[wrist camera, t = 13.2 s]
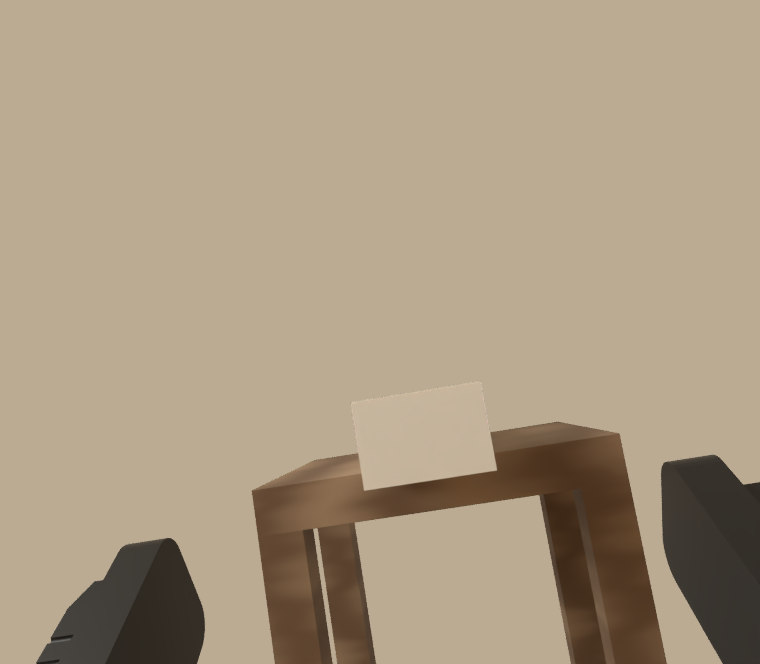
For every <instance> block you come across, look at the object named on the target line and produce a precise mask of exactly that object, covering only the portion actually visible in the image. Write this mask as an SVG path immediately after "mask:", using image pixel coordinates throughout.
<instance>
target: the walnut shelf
mask: <svg viewBox="0 0 760 664" xmlns="http://www.w3.org/2000/svg"><path fill="white" fill-rule="evenodd" d="M490 434H491V440H492V445H493V451H494V456H495V462H496V467H497V471H490V472H484V473H477V474H470V475H464V476H457V477H451V478H444V479H438V480H431V481H425V482H418V483H412V484H405V485H399V486H392V487H386V488H379V489H373V490H366V491H364V487H363V480H362V474H361V468H360V461H359V455H358V454H352V455H345V456H339V457H332V458H326V459H319V460H314V461H312V462H310V463H308V464H306V465H304V466H302V467H300V468H298V469H296V470H293V471H291V472H289V473H287V474H285V475H283V476H281V477H279V478H277V479H275V480H273V481H271V482H269V483H267V484H265V485H262V486H260V487H259V488H256V489H254V490H252V495H253V503H254V510H255V517H256V525H257V532H258V539H259V547H260V555H261V562H262V570H263V576H264V585H265V592H266V600H267V606H268V614H269V622H270V630H271V637H272V645H273V652H274V659H275V664H332V658H331V650H330V643H329V636H328V629H327V622H326V615H325V609H324V601H323V595H322V588H321V580H320V574H319V567H318V560H317V554H316V546H315V539H314V532H313V529H314V528H318V532H319V540H320V547H321V554H322V561H323V568H324V575H325V581H326V588H327V595H328V602H329V609H330V616H331V623H332V629H333V636H334V643H335V650H336V657H337V664H376V662H375V655H374V648H373V642H372V635H371V629H370V622H369V615H368V609H367V602H366V595H365V589H364V582H363V576H362V570H361V563H360V556H359V550H358V543H357V536H356V530H355V523H354V522H360V521H367V520H374V519H381V518H388V517H394V516H401V515H408V514H414V513H421V512H428V511H434V510H441V509H448V508H455V507H461V506H467V505H474V504H481V503H488V502H495V501H501V500H508V499H514V498H521V497H528V496H534V495H539V496H540V500H541V506H542V511H543V517H544V522H545V528H546V533H547V538H548V544H549V549H550V554H551V559H552V565H553V570H554V575H555V580H556V586H557V591H558V597H559V602H560V607H561V613H562V618H563V623H564V629H565V633H566V639H567V645H568V650H569V655H570V661H571V664H667V663H666V658H665V653H664V648H663V643H662V638H661V634H660V629H659V624H658V619H657V614H656V609H655V604H654V600H653V595H652V590H651V585H650V580H649V575H648V571H647V565H646V561H645V556H644V551H643V546H642V541H641V536H640V531H639V527H638V522H637V517H636V512H635V508H634V502H633V498H632V492H631V488H630V483H629V478H628V473H627V469H626V464H625V459H624V454H623V449H622V444H621V439H620V434H619V433H614V432H609V431H604V430H598V429H593V428H588V427H582V426H577V425H571V424H566V423H561V422H554V423H547V424H541V425H535V426H528V427H522V428H516V429H509V430H503V431H497V432H490Z"/></svg>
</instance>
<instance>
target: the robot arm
mask: <svg viewBox="0 0 760 664" xmlns="http://www.w3.org/2000/svg"><path fill="white" fill-rule="evenodd" d="M661 486H662V524H663V525H662V526H663V544H664V549H665V554H666V558H667V561H668V564H669V567H670V570H671V572H672V575H673V576H674V579H675V581H676V583H677V584H678V586H679V588H680V590H681V591H682V593H683V595H684V597H685V598H686V600H687V602H688V604H689V605H690V607H691V609H692V611H693V612H694V614H695V616H696V618H697V619H698V621H699V623H700V625H701V626H702V628H703V630H704V632H705V633H706V635H707V637H708V639H709V640H710V642H711V644H712V646H713V647H714V649H715V651H716V652H717V654H718V656H719V658H720V659H721V661H722V663H723V664H760V482H759V483H752V484H746V485H743V484H742V483H741V482H740V480H739V479H738V478H737V477H736V476H735V475H734V474H733V472H732V471H731V470H730V469H729V468H728V467H727V466H726V464H725V463H724V462H723V461H722V460H721V459H720V458H719V457H718V456H716V455H708V456H702V457H695V458H689V459H683V460H677V461H670V462H665V463H664V464H663V466H662V470H661ZM204 632H205V620H204V612H203V608H202V604H201V602H200V599H199V597H198V594H197V592H196V589H195V587H194V584H193V582H192V579H191V577H190V574H189V572H188V569H187V567H186V564H185V562H184V559H183V557H182V554H181V552H180V549H179V547H178V545H177V544H176V542H175V541H174V540H173V539H171V538H166V539H159V540H153V541H147V542H140V543H134V544H128V545H125V546H123V547H122V548H121V549H120V551H119V552H118V554H117V556H116V558H115V560H114V561H113V563H112V565H111V567H110V569H109V571H108V573H107V575H106V576H105V578H104V580H102V581H95V582H94V583H93V584H92V585H91V586H90V587H89V588H88V589H87V590H86V591H85V592H84V593H83V594H82V595H81V596H80V597H79V598H78V599H77V600H76V601H75V602H74V603H73V604H72V605H71V606H70V607H69V608H68V609H67V611H66V613H65V614H64V616H63V618H62V619H61V621H60V623H59V625H58V626H57V628H56V630H55V631H54V633H53V635H52V637H51V643H50V644H47V645H46V647H45V649H44V650H43V652H42V654H41V656H40V657H39V659H38V661H37V662H36V663H37V664H197V662H198V658H199V655H200V652H201V649H202V645H203V640H204Z"/></svg>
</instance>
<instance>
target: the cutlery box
mask: <svg viewBox="0 0 760 664" xmlns="http://www.w3.org/2000/svg"><path fill="white" fill-rule="evenodd" d="M351 409H352V416H353V422H354V429H355V435H356V441H357V448H358V455H359V461H360V468H361V474H362V480H363V487H364V491H366V490H373V489H379V488H386V487H392V486H399V485H405V484H412V483H418V482H425V481H431V480H438V479H444V478H451V477H457V476H464V475H470V474H477V473H484V472H490V471H497V467H496V462H495V456H494V451H493V445H492V440H491V434H490V428H489V423H488V417H487V412H486V406H485V401H484V395H483V390H482V384H481V381H478V382H472V383H466V384H460V385H453V386H448V387H441V388H435V389H429V390H423V391H417V392H411V393H405V394H399V395H393V396H387V397H380V398H374V399H368V400H363V401H357V402H351Z"/></svg>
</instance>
